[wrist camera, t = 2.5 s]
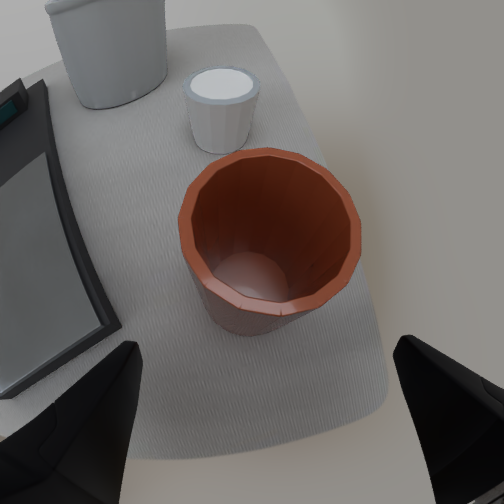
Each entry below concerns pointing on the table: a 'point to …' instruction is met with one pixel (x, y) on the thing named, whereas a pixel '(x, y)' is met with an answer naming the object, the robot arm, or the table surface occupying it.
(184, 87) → the shot glass
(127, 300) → the table surface
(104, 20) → the utensil holder
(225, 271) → the cup
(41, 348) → the scale
